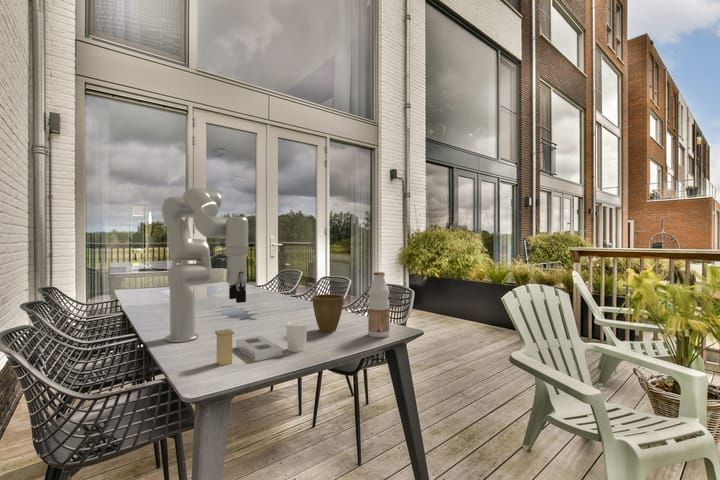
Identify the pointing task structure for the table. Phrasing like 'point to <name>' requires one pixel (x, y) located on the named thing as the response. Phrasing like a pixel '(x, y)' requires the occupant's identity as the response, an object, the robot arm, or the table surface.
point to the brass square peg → (224, 346)
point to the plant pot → (327, 311)
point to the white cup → (296, 336)
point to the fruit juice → (378, 307)
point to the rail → (258, 348)
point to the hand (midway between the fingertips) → (237, 300)
